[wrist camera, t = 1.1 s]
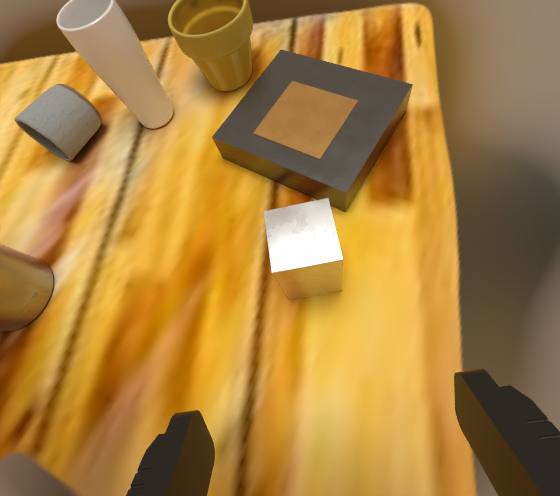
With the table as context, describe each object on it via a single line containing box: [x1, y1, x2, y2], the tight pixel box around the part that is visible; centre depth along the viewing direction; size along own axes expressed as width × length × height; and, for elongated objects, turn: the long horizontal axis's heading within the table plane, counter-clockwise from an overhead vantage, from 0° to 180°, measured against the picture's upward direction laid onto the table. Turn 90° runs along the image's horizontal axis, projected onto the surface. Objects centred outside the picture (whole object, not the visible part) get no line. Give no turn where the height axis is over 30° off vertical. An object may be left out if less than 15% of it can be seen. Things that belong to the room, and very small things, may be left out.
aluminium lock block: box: [264, 198, 343, 300], centre depth 29 cm, size 6×6×10 cm
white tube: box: [57, 0, 173, 129], centre depth 40 cm, size 7×7×15 cm
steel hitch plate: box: [212, 50, 413, 212], centre depth 38 cm, size 18×16×4 cm
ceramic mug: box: [15, 84, 102, 161], centre depth 45 cm, size 11×8×8 cm
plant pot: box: [168, 0, 253, 91], centre depth 43 cm, size 10×10×10 cm
